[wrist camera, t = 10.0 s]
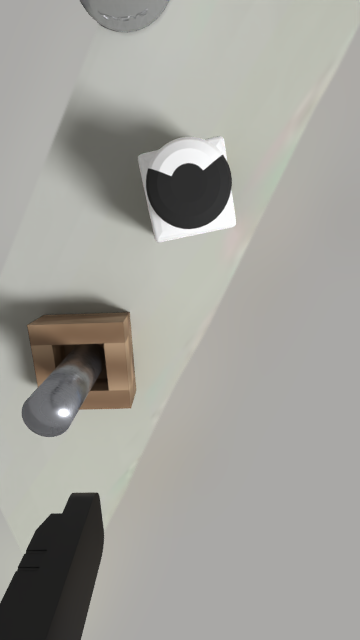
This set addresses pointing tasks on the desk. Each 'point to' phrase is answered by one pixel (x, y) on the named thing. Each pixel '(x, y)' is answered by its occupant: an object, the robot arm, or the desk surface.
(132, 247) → the desk surface
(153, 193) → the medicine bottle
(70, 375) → the peg
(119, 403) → the bore block
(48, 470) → the desk surface
